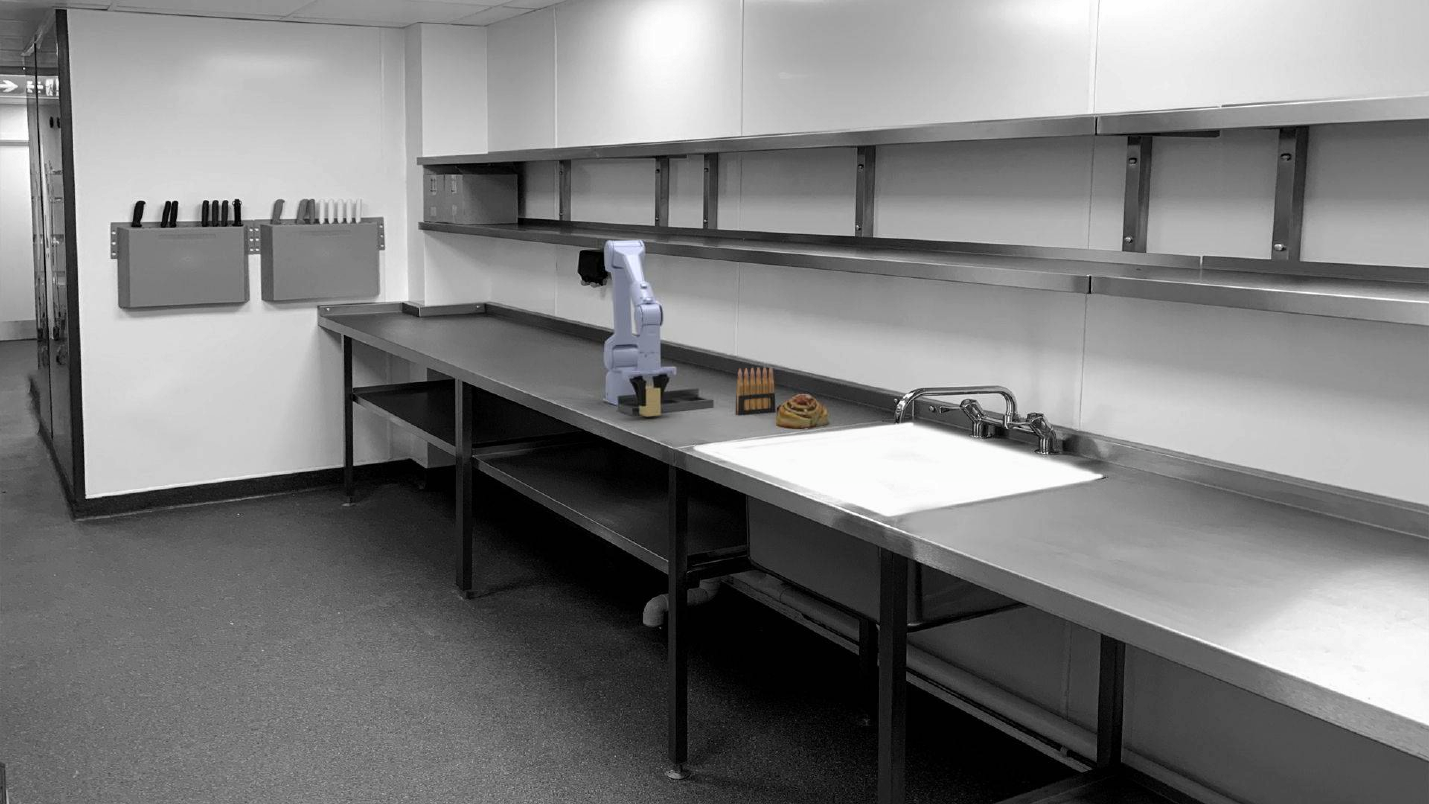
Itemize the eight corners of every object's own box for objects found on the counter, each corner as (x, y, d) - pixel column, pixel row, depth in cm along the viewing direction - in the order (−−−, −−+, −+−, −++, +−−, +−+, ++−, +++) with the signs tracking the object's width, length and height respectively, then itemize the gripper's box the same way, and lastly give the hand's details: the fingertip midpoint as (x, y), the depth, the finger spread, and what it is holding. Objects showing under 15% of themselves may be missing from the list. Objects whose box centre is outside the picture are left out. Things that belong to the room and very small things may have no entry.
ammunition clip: (738, 415, 307) (738, 369, 305) (735, 414, 309) (735, 368, 307) (775, 412, 312) (775, 366, 309) (772, 411, 313) (772, 365, 311)
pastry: (779, 430, 289) (779, 397, 287) (771, 418, 303) (771, 387, 302) (834, 429, 290) (834, 396, 288) (823, 417, 305) (823, 386, 303)
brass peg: (639, 414, 306) (638, 386, 304) (653, 412, 308) (653, 385, 306) (646, 416, 302) (646, 389, 301) (660, 415, 304) (660, 387, 303)
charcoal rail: (617, 410, 314) (617, 395, 314) (697, 402, 326) (697, 387, 325) (632, 416, 307) (632, 400, 306) (713, 407, 319) (713, 392, 318)
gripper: (630, 355, 295) (631, 410, 298) (681, 351, 302) (682, 404, 305) (617, 352, 301) (618, 405, 304) (668, 348, 308) (669, 400, 311)
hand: (649, 405), depth 305 cm, fingers closed on brass peg, 4 cm apart
